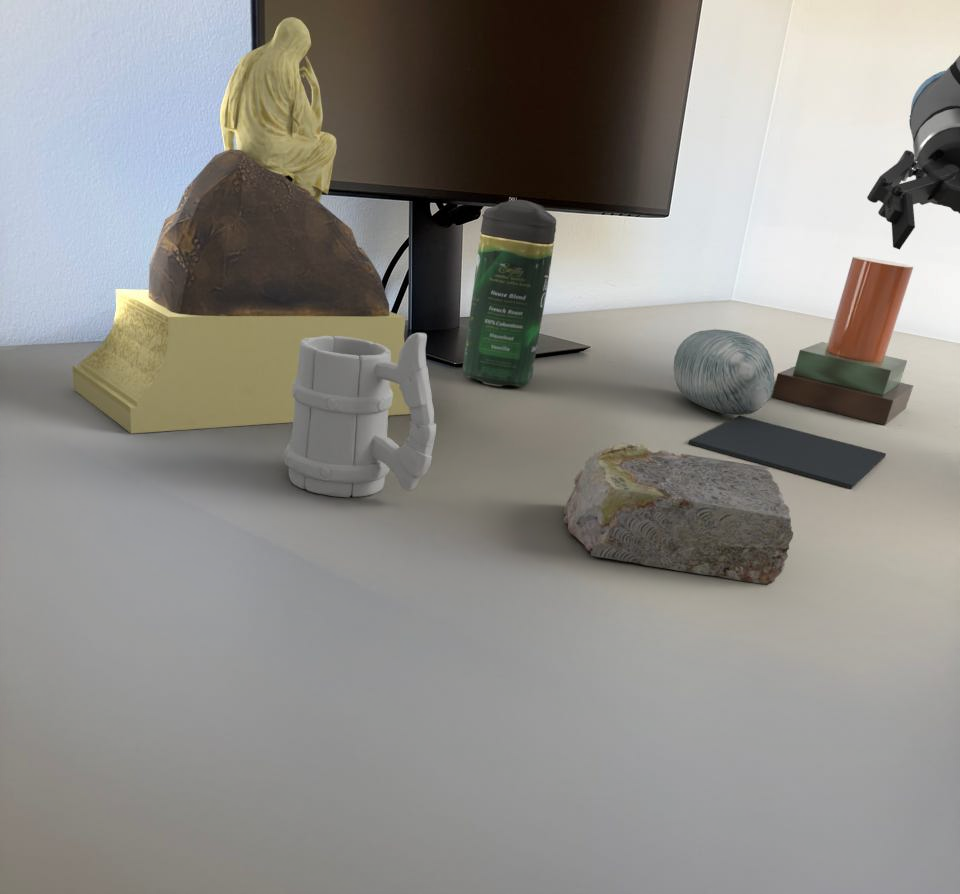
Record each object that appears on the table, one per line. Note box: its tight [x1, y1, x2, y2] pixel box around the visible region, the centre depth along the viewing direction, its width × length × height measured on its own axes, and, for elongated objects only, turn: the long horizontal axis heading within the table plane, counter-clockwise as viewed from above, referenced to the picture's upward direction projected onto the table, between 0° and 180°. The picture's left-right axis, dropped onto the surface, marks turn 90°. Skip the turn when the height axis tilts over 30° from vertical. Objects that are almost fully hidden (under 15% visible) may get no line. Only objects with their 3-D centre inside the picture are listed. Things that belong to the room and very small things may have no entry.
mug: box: [284, 332, 437, 498], centre depth 69 cm, size 8×12×12 cm, turn 59°
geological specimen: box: [563, 442, 794, 585], centre depth 69 cm, size 11×6×15 cm
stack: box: [771, 341, 914, 426], centre depth 122 cm, size 14×14×6 cm
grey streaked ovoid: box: [673, 328, 775, 416], centre depth 109 cm, size 14×10×10 cm
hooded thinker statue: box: [72, 16, 411, 434], centre depth 81 cm, size 28×13×30 cm, turn 129°
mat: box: [688, 415, 887, 490], centre depth 98 cm, size 16×16×1 cm
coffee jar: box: [462, 199, 557, 388], centre depth 105 cm, size 10×8×19 cm
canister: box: [826, 256, 914, 362], centre depth 118 cm, size 7×7×11 cm
